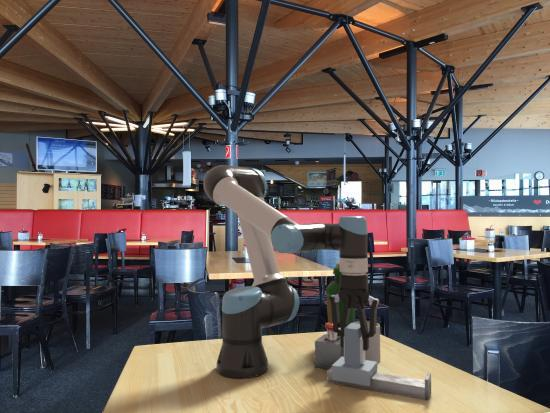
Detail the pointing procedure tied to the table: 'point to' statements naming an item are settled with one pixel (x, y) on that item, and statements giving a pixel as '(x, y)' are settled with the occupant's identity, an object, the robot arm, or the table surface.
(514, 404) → the table surface
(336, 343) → the grey cube box
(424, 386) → the rail
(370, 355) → the mug
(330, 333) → the plunger
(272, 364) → the table surface
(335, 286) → the bottle
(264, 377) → the table surface
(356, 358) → the carriage
